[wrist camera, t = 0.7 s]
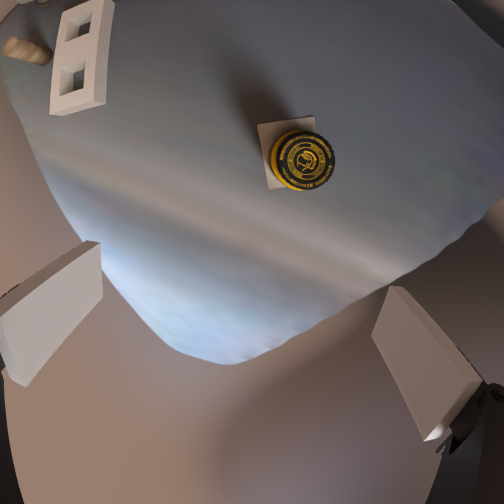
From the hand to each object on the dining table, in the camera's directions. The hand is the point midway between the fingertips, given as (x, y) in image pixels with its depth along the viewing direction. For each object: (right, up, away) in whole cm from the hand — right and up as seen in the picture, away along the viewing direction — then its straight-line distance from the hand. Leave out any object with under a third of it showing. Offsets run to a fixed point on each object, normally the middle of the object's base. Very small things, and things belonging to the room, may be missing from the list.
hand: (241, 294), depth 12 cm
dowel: (-33, +34, +17) cm, 50 cm away
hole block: (-24, +31, +17) cm, 43 cm away
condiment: (+5, +14, +23) cm, 27 cm away
